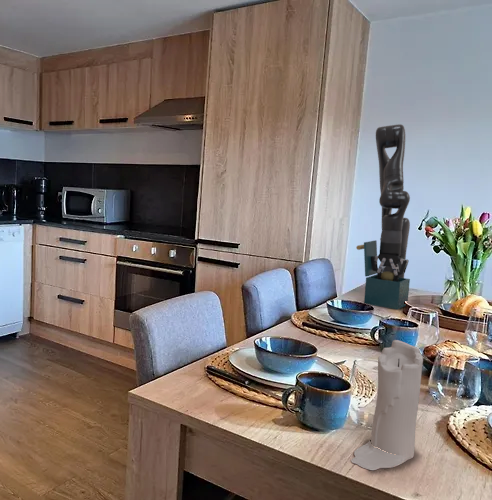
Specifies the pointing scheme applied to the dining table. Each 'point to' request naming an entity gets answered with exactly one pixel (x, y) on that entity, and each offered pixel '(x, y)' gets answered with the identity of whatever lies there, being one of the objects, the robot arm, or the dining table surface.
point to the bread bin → (386, 292)
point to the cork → (387, 276)
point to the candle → (394, 408)
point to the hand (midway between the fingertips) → (387, 283)
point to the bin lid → (369, 255)
